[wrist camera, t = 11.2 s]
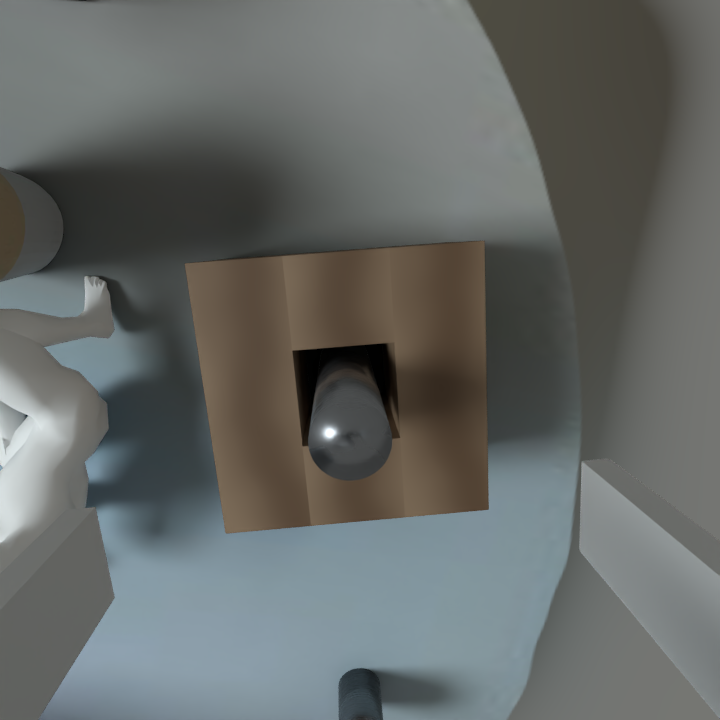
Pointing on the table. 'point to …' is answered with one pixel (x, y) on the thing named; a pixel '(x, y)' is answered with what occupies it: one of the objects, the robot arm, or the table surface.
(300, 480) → the pin block
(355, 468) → the long pin
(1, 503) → the person figurine
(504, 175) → the table surface
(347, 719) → the short pin
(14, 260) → the coffee cup
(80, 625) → the robot arm
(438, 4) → the table surface
